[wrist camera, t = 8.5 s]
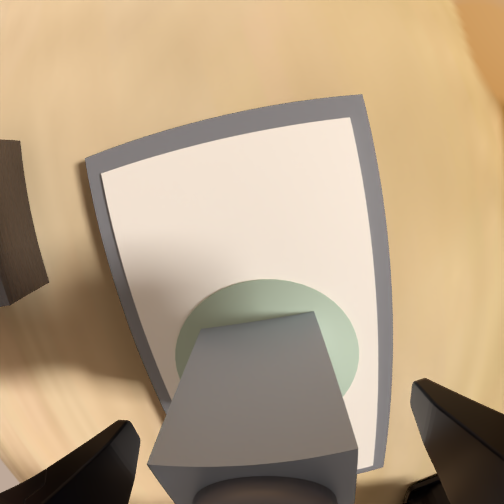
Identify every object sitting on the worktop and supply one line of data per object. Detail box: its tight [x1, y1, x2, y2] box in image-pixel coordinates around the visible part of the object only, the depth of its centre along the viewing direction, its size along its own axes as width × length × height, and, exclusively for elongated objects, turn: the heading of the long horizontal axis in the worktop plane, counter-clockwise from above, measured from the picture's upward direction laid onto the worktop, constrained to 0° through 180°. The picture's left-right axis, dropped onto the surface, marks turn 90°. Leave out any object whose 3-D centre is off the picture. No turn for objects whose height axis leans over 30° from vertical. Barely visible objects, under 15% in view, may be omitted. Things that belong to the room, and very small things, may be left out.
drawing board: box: [85, 94, 393, 474], centre depth 12 cm, size 10×18×2 cm, turn 12°
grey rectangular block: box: [147, 311, 358, 504], centre depth 8 cm, size 4×4×7 cm
